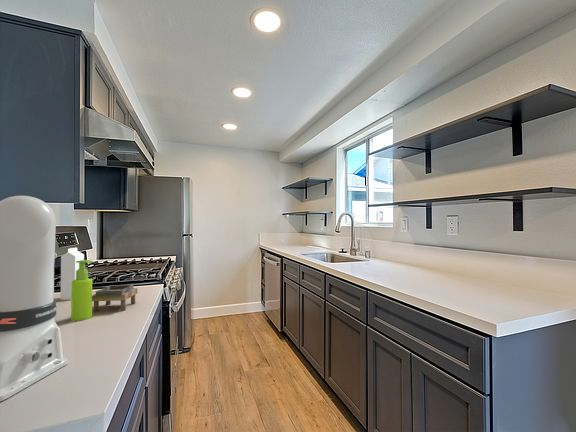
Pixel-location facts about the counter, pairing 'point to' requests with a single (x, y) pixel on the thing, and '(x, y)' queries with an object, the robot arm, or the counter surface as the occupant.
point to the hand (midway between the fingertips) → (45, 257)
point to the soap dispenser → (81, 293)
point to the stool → (114, 295)
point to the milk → (69, 271)
